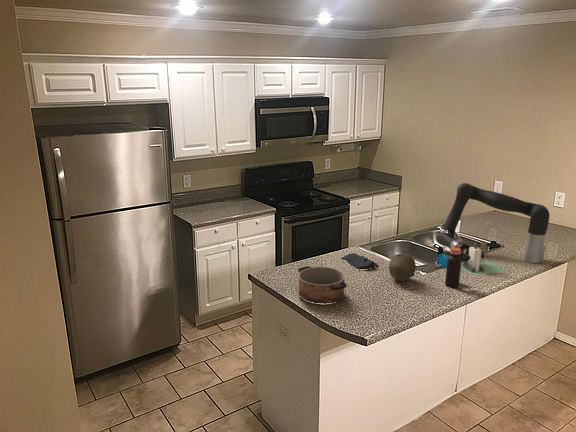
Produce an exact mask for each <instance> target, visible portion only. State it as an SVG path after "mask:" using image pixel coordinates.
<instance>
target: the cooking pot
mask: <svg viewBox="0 0 576 432" xmlns="http://www.w3.org/2000/svg"><path fill="white" fill-rule="evenodd" d="M297 271H298V296H299V295H300V296H301V297H302V298H303V299H305V300H307V301H310V302H314V303H324V304H325V303H334V302H338V301H340V300H341V299H342V298H343V299H344V298H345V288H347V287H348V284H347V283H346V282H345V279H346V278H345V277H346V276H345V274H344V272H343V271H341V270H339V269H337V268H334V267H333V268H332V267H327V266H313V267H312V266H309V265H307V266H303V267H300V268H298V269H297ZM343 299H342V300H343ZM342 300H341V301H342ZM341 301H340V302H341ZM338 303H339V302H338Z"/></svg>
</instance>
